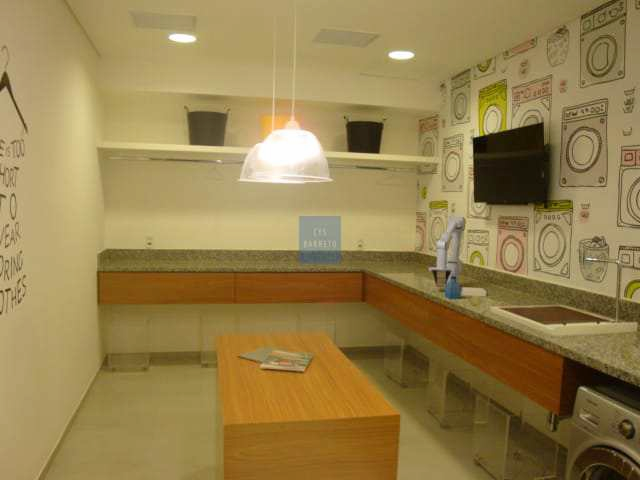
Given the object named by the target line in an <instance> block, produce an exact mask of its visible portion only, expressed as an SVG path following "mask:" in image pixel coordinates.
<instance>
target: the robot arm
mask: <svg viewBox="0 0 640 480" xmlns="http://www.w3.org/2000/svg"><path fill="white" fill-rule="evenodd" d="M446 223H447V228H446V231H444V232H443V233H442V234H441V237H440V239H438V240H437V241H436V243H435V250H436V267H433V266H432V267H431V266H429V267H428V272H432V274H433V278H434V282H435V283H434V284H435V285H436V284H437V277H438V272H445V277H444V278H446V285H447V283H448V282H451V281H450V279H451V276H456V279H457V281H456V283H459V281H460V274H461V273H462V272H463V267H464V266H463V261H462V260H461V258H459V255H460V249H461V243H462V242H461V240H462V235H463V232H464V231H465V229H466V223H467V222H466V217H464V216H448V218H447V222H446ZM451 240H452V242H451ZM450 244H451V251H450V257H449V258H448V251H449V249H450ZM459 284H460V283H459Z"/></svg>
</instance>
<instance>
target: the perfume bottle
mask: <svg viewBox="0 0 640 480" xmlns="http://www.w3.org/2000/svg"><path fill="white" fill-rule="evenodd" d="M450 281H451V282H448V283H447V284H446V286H445V287H444V298H446V299H448V300H461V298H462V297H461V295H462V287H461V285H460V283H456V281H457V279H456V276H451V279H450Z"/></svg>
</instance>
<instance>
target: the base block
mask: <svg viewBox="0 0 640 480" xmlns="http://www.w3.org/2000/svg"><path fill="white" fill-rule="evenodd" d="M461 293H462V294H463V295H464V296H475V297H477V296H478V297H487V291H486V290H485V289H484V288H483V287H465V286H462V287H461Z"/></svg>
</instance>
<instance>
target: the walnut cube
mask: <svg viewBox="0 0 640 480" xmlns="http://www.w3.org/2000/svg"><path fill="white" fill-rule="evenodd" d="M446 285H447V284H446V278H445V277H438V276H437V284H435V286H436V288H445V286H446Z"/></svg>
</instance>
